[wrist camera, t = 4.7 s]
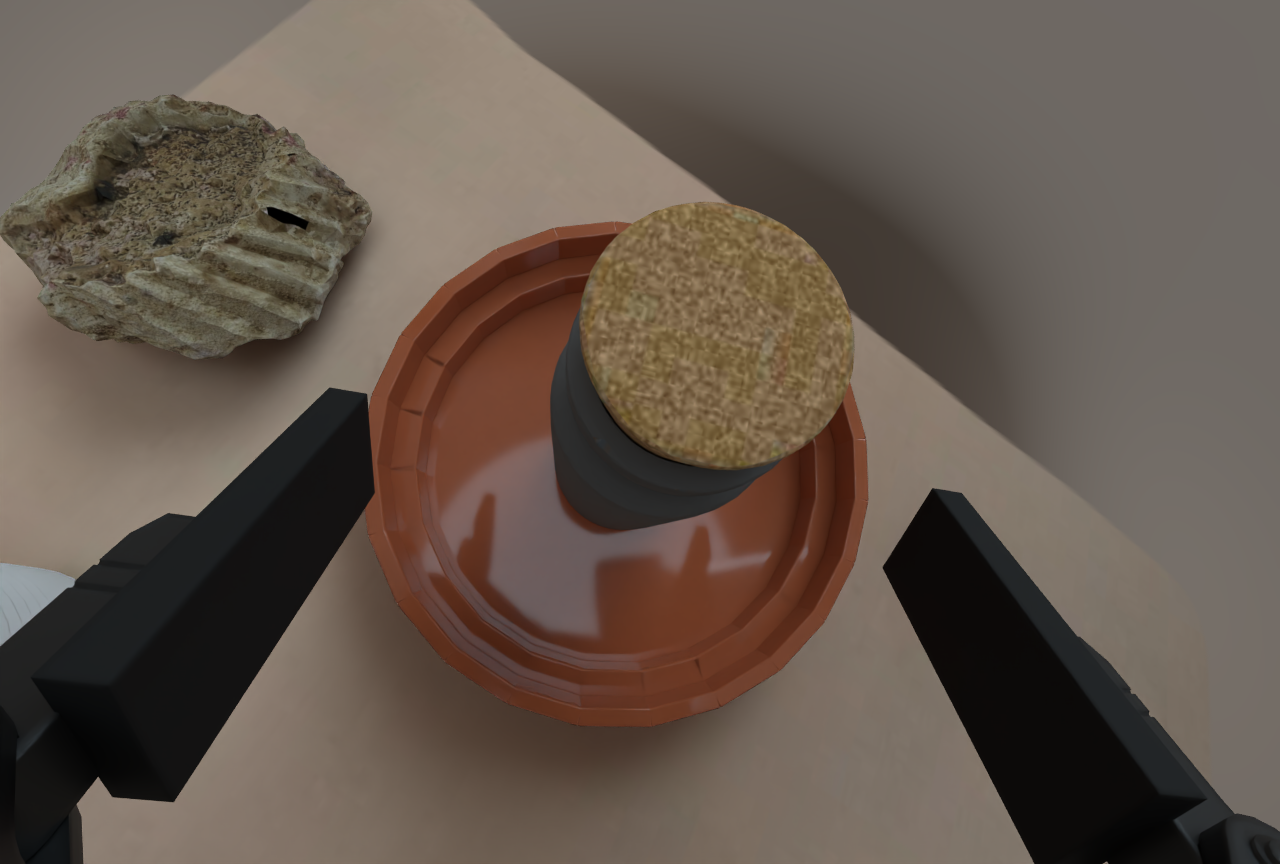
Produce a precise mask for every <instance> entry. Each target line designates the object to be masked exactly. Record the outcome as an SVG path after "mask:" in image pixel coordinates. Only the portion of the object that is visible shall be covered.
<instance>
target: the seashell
mask: <svg viewBox="0 0 1280 864" xmlns="http://www.w3.org/2000/svg"><path fill="white" fill-rule="evenodd" d="M371 217H372V212H371V210H370V207H369V205H368V203H367V202H366V201H365V200H364V199H363V198H362V197H361V196H360V195H359V194H357V193H356V192H353V191H352V190H350V189H349V188H347V187H346V186H345V181H344V180H343V179H342V178H340V177H339V176H338V175H336V174H335V173H334V172H331V171H329V170H328V168H327V167H326V166H325V165H323V164H322V163H321V162H320V160H319V159H318V158H316V157H314V156H312V155H311V154H310V153H309V152H308V151H307V150H306V149H305V144H304V141H303V140H302V139H301V138H300V136H299V135H298V134H295V133H290V134H289V132H288V130H287V129H286V128H285V127H282V128H280V129H279V130H276V129H275V128H274V127H273V126H272V125H271V124H270V123H269V122H268V121H267V120H266V119H264V118H263V117H261V116H260V115H258V114H255V115H244V114H241V113H239V112H237V111H235V110H233V109H231V108H229V107H227V106H224V105H218V104H214V103H212V102H199V101H188V102H187V101H185V100H183V99H181V98H179V97H177V96H175V95H162V96H158V97H156V98H154V99H153V100H151V101H130V102H128V103H127V104H125V105H124V106H122V107H114V108H113V109H112V110H111V111H110V112H109V113H107V114H102V115H99V116H97V117H95V118H93V119H92V120H91V121H90V122H89V124H87V125H86V126H84V127H83V129H82V130H81V132H80V134H79V135H78V137H77V139H76V140H74V141H73V142H72V143H71V144H69V145H68V146H67V147H66V148H65V150H64V153H63V155H62V156H61V158H60V160H59V162H58V163H57V164H56V166H55V167H54V169H53V170H52V171H51V173H50V174H49V175H48V177H47V178H46V179H45V180H44V181H43V182H42V183H41V184H40V185H39V186H37V187H35V188H32V189H30V190H29V191H28V192H27V193H26V194H25V195H24V196H23V197H22V198H20V199H19V200H18V201H17V202H16V203H12V204H11V206H10V208H9V209H8V210H7V211H6V212H5V213H4V214H3V215H2V216H1V217H0V235H1V237H2V238H3V240H4V241H5V242H6V243H7V244H8V245H9V246H10V247H11V248H13V249H14V250H15V252H16V254H17V255H18V256H19V257H20V258H21V259H22V260H23V261H24V262H25V263H26V265H27V266H28V267H29V268H30V269H31V270H32V271H33V273H34V274H35V275H36V277H37V278H38V280H39V281H40V283H41V284H42V285H43V288H42V290H41V292H40V294H39V296H38V300H39V301H40V302H41V303H42V304H43V305H44V306H45V307H46V308H47V311H48V315H49V316H50V317H52V318H53V319H55V320H57V321H58V322H60V323H61V324H63V325H64V326H66V327H68V328H69V329H71V330H74V331H78V332H81V333H84V334H86V335H87V336H89V337H90V338H92V339H93V340H96V341H102V340H108V339H114V340H115V341H117V342H118V343H119V342H129V343H132V344H136V343H142V342H148V343H149V344H151V345H153V346H155V347H158V348H162V349H166V350H169V351H173V352H176V353H179V354H181V355H184V356H187V357H189V358H192V359H210V358H223V357H225V356H227V355H228V354H230V353H231V352H232V351H233V349H234V348H235V347H238V346H240V345H243V344H245V343H247V342H250V341H252V340H255V339H269V338H274V339H279V340H281V339H285V338H289V337H291V336H294V335H296V334H299V333H301V331H302V330H303V328H304V326H305V325H306V324H307V323H308V322H310V321H311V320H317V321H318V318H319V315H320V313H321V310H322V307H323V304H324V300H325V299H326V297H327V296H328V293H329V292H330V291H331V289H332V288H333V286H334V284H335V283H336V281H337V279H338V273H339V271H340V270H341V268H342V267H343V262H342V261H341V258H342V257H343V256H345V255H346V254H347V253H348V252H349V251H350V250H351V249H352V248H353V247H355V246H356V245H357V244H359V243H360V242H361V241H362V239H363V237H364V235H365V231H366V228H367V226H368V225H369V223H370V222H371Z"/></svg>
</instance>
